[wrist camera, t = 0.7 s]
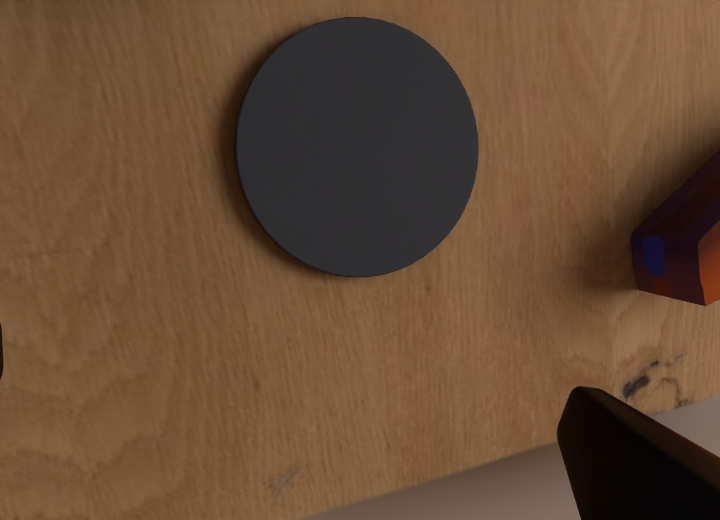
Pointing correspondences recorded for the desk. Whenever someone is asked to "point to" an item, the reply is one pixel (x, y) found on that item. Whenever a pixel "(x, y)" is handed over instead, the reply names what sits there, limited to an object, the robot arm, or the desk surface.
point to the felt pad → (356, 147)
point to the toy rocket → (683, 241)
